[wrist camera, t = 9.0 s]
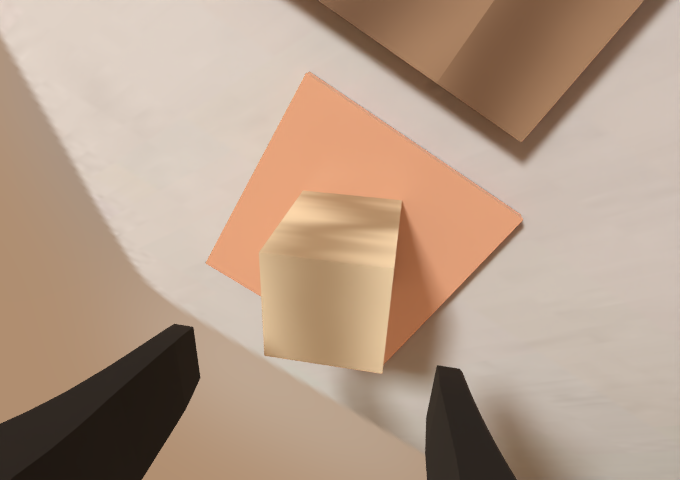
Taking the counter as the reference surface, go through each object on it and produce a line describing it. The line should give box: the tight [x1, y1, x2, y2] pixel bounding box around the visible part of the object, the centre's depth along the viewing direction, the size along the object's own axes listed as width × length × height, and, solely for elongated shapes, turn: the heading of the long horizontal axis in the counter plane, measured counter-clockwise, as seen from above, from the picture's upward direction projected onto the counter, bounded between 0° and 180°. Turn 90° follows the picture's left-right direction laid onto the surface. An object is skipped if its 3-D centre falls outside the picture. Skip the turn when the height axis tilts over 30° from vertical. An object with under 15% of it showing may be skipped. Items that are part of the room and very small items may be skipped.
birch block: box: [259, 191, 402, 374], centre depth 18 cm, size 4×4×6 cm
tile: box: [206, 72, 523, 365], centre depth 21 cm, size 11×11×1 cm
